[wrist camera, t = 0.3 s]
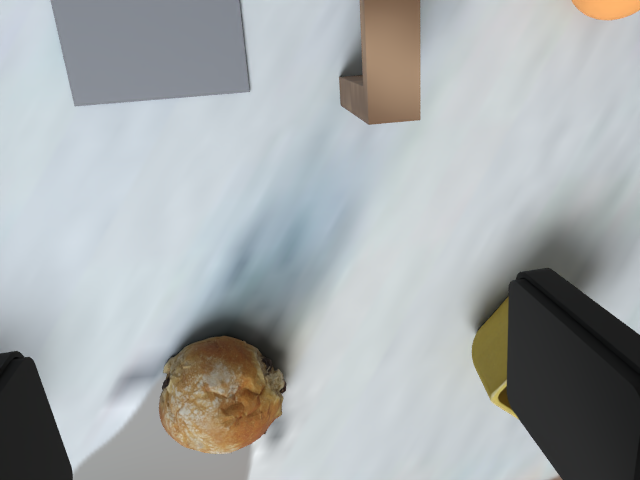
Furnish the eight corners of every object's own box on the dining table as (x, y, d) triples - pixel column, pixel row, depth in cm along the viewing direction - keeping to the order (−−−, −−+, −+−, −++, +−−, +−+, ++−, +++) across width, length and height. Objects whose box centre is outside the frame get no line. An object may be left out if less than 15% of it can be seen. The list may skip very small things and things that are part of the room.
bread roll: (197, 306, 47) (142, 345, 40) (303, 345, 45) (266, 393, 38) (183, 399, 51) (129, 451, 43) (282, 439, 48) (243, 501, 41)
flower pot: (512, 262, 46) (572, 311, 37) (577, 312, 48) (646, 369, 40) (445, 337, 47) (488, 400, 39) (511, 382, 50) (564, 450, 42)
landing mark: (30, -95, 33) (28, -96, 32) (227, -105, 34) (227, -105, 34) (75, 105, 37) (74, 106, 37) (249, 91, 38) (249, 91, 38)
